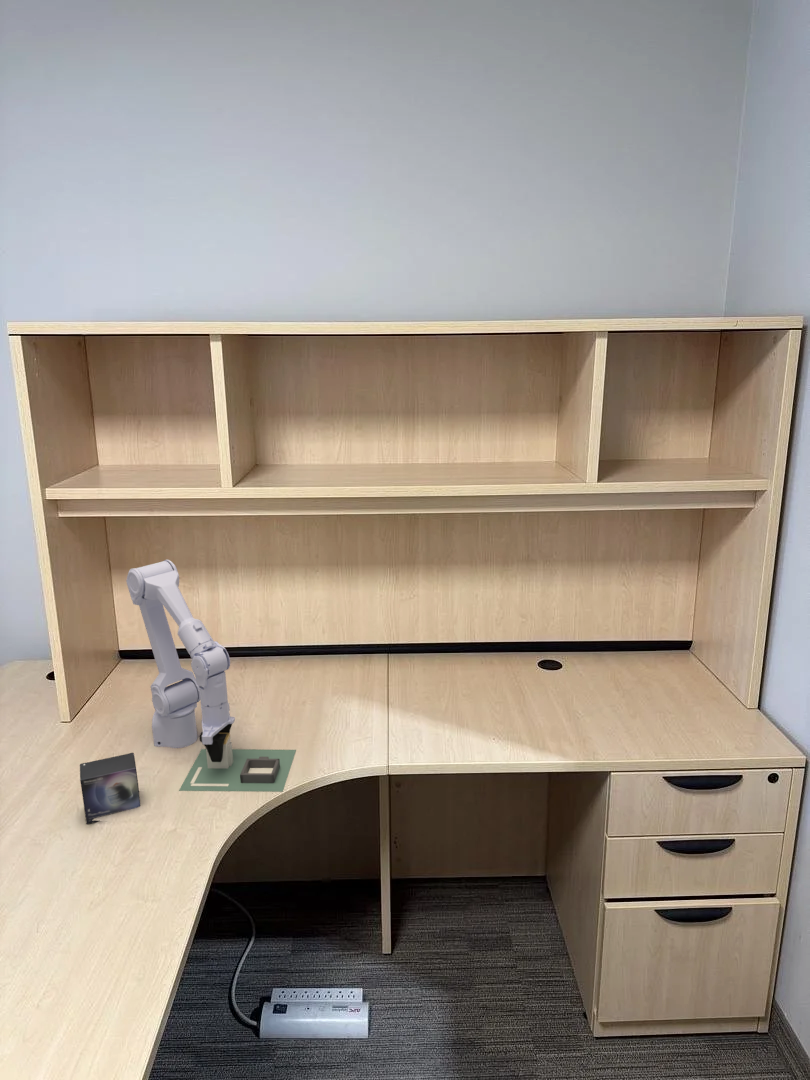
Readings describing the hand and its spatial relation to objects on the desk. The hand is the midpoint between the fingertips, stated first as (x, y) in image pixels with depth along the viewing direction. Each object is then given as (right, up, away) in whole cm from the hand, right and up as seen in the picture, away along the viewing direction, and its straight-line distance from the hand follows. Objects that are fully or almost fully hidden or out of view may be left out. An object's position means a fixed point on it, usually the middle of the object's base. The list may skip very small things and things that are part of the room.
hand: (219, 756), depth 164 cm
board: (+5, -4, -1) cm, 6 cm away
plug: (0, -2, +1) cm, 2 cm away
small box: (-18, -8, -13) cm, 24 cm away
